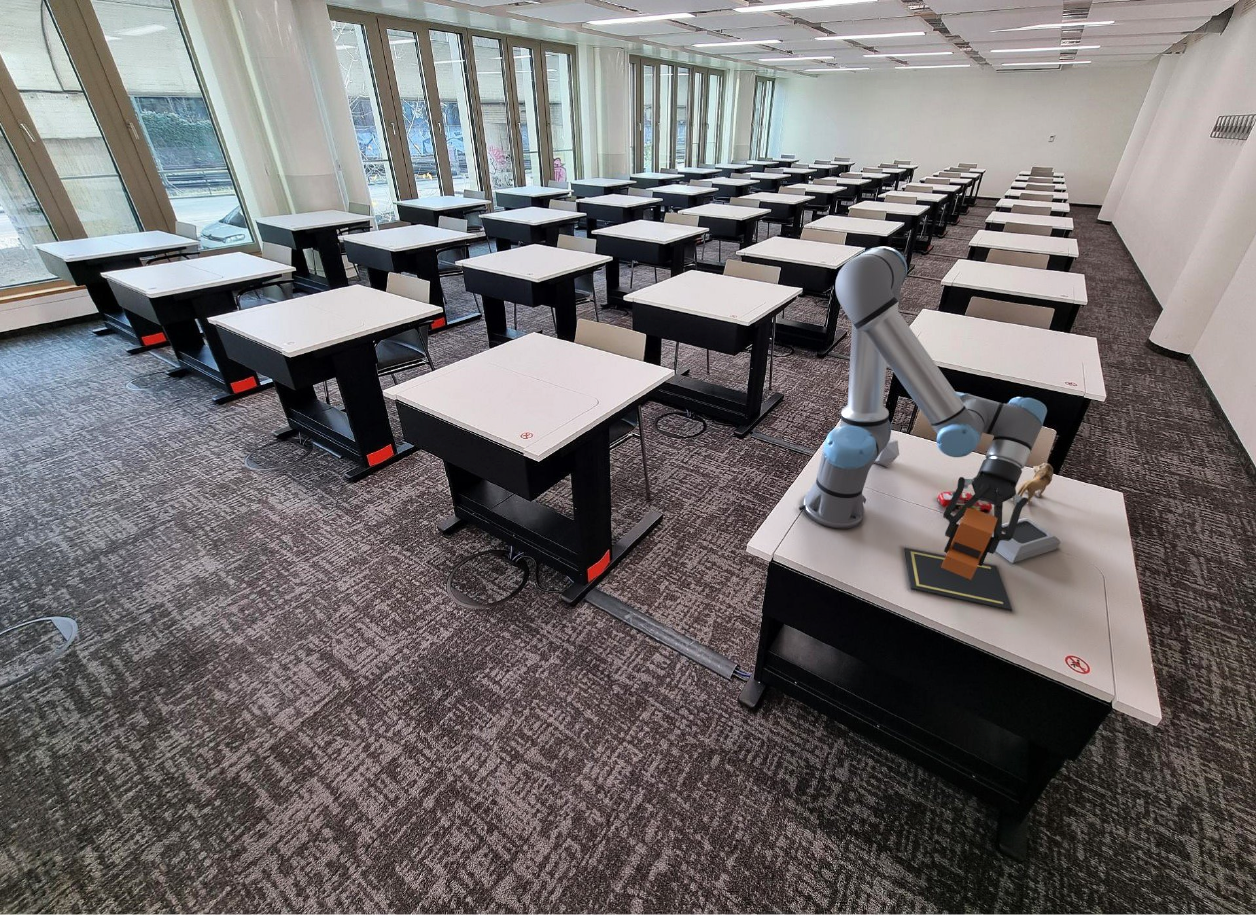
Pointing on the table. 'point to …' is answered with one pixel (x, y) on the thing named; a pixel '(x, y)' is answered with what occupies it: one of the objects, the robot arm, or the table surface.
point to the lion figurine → (1037, 481)
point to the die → (888, 453)
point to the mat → (955, 580)
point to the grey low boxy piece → (1026, 541)
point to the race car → (963, 502)
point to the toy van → (969, 543)
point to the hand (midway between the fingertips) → (962, 557)
